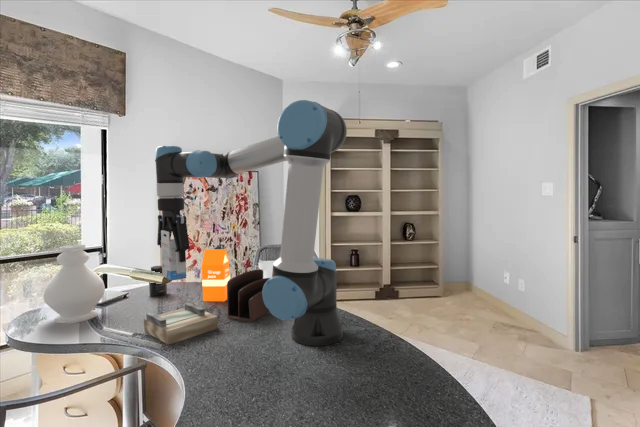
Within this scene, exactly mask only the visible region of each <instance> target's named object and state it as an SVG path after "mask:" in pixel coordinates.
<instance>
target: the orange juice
mask: <svg viewBox="0 0 640 427" xmlns="http://www.w3.org/2000/svg"><path fill="white" fill-rule="evenodd" d="M230 271H231V270H230V260H229V255H228V252H227V249H225V248H221V249H220V248H217V249H216V248H214V249H213V248H212V249H211V248H210V249H209V248H207V249H204V252H203V257H202V262H201V277H202V278H201V279H202V280H201V285H202V301H203V302H225V301H227V282H228V281H229V280H230V279H231V274H230Z"/></svg>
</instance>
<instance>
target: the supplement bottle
mask: <svg viewBox="0 0 640 427" xmlns="http://www.w3.org/2000/svg"><path fill="white" fill-rule="evenodd" d="M151 271H155V272H160V273H162V265H155V266H154V265H153V266H151V267H150V272H151ZM148 289H149V290H148V291H149V296H150V297H152V298H159V297H164V296H166V295H167V294H168V283H167V284H164V285H163V284H156V283H150V282H149V281H148Z"/></svg>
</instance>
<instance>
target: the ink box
mask: <svg viewBox="0 0 640 427" xmlns="http://www.w3.org/2000/svg"><path fill="white" fill-rule="evenodd" d="M164 234H165V235H166V237H165V236H164ZM161 249H162V255H161V266H162V274H163V276H164V277H165V278H167V280H169V281H177V280H182V279H183V280H184V279H187V271H186V272H183V273H177V272H176V252H175V250H176V249H177V247H176V244H175V240H174V238H170V239H169V232H168V231H163V230H161Z"/></svg>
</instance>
